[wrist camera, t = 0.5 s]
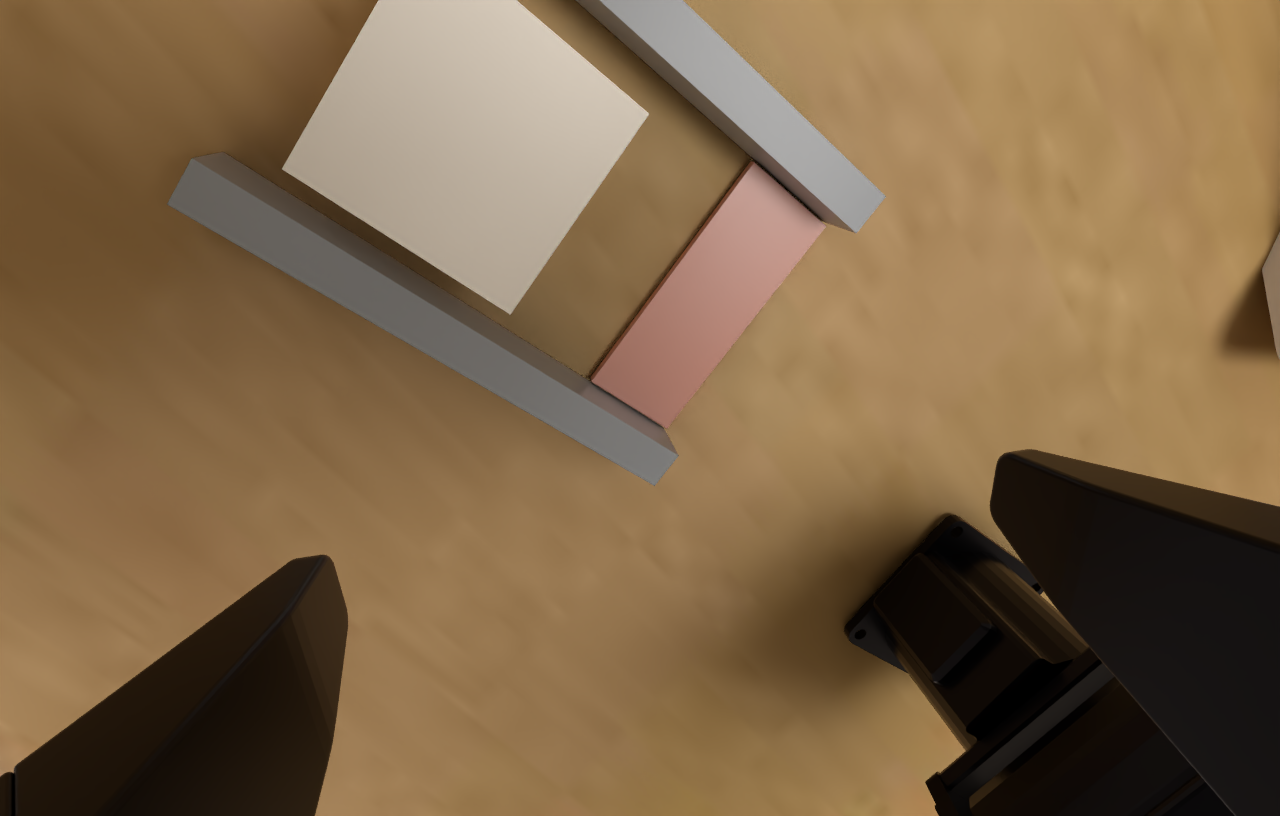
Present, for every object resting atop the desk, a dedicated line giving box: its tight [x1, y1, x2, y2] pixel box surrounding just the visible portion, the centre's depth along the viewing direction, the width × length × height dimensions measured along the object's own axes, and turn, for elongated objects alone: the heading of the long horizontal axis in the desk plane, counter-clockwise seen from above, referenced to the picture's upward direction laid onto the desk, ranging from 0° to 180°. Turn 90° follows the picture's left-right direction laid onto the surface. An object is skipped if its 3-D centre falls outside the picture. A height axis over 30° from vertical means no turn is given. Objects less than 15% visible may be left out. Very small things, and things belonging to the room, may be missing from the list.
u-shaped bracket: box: [167, 0, 886, 486], centre depth 18 cm, size 14×10×2 cm
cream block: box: [282, 0, 649, 315], centre depth 15 cm, size 5×5×5 cm
